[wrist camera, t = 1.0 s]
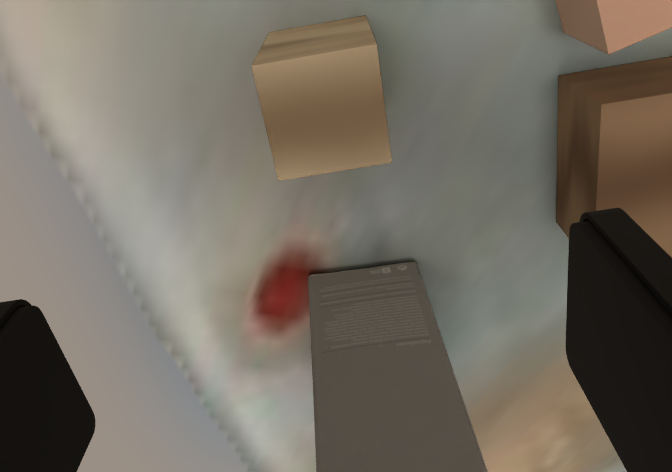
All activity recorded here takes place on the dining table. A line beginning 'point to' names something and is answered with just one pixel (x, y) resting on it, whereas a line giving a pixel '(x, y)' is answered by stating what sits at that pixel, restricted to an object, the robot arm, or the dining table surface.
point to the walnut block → (617, 145)
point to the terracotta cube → (614, 21)
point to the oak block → (322, 98)
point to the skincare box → (384, 377)
